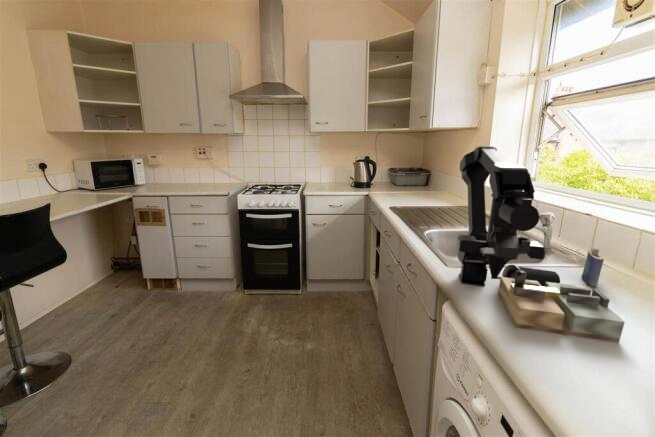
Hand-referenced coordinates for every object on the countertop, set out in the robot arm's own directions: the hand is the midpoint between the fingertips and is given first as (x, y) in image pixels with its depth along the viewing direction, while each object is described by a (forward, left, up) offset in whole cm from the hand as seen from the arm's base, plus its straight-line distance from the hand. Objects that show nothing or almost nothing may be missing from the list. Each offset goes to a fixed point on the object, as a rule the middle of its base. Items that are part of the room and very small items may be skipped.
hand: (493, 278), depth 80 cm
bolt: (+9, 0, -3) cm, 10 cm away
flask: (+33, +25, -8) cm, 42 cm away
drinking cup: (+20, +17, -6) cm, 27 cm away
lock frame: (+14, 0, -8) cm, 16 cm away
